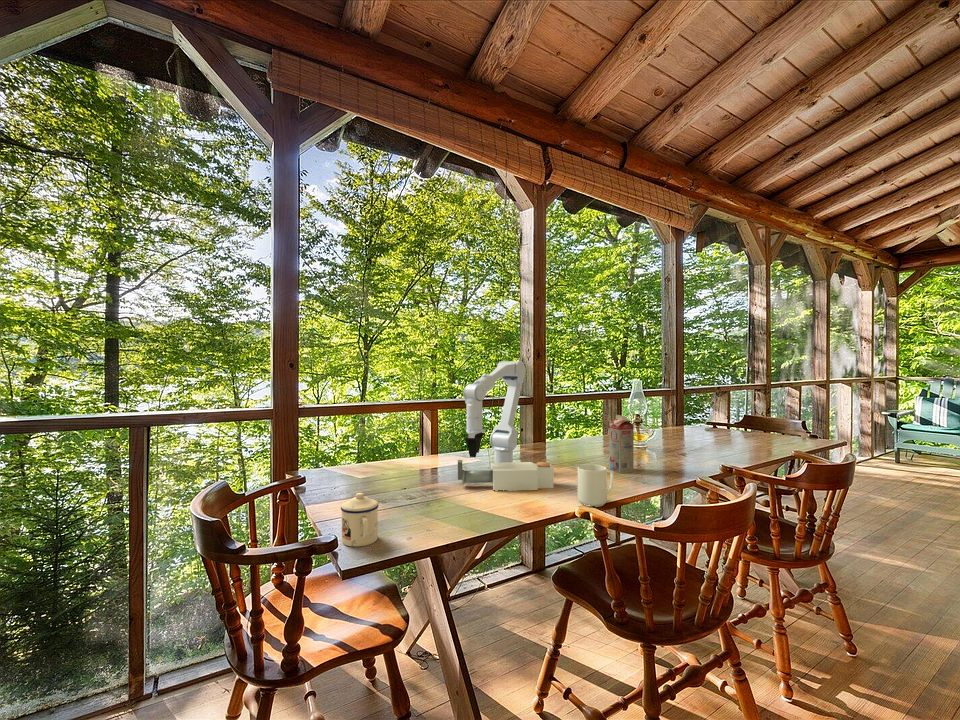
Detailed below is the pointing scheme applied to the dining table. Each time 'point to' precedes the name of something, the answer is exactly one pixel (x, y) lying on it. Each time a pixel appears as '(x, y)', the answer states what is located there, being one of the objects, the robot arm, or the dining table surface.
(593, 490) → the mug
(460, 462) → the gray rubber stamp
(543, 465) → the plunger button
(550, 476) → the button housing
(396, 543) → the dining table surface
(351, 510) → the teacup with lid
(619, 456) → the juice carton
